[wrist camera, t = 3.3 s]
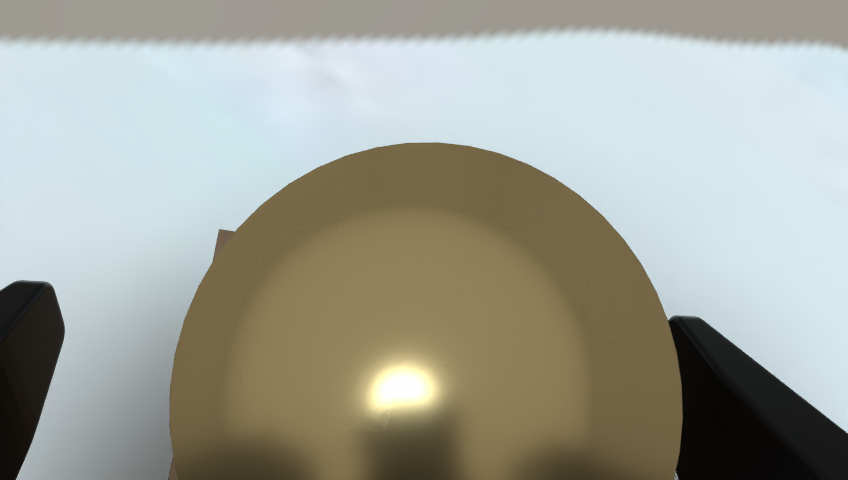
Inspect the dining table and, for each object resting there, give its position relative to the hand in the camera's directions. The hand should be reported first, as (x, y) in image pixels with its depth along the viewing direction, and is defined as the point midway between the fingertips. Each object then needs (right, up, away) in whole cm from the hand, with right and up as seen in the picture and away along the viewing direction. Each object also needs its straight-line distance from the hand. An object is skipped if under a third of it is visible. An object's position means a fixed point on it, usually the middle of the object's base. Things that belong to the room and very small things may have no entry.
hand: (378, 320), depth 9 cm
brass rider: (-1, -2, +5) cm, 5 cm away
